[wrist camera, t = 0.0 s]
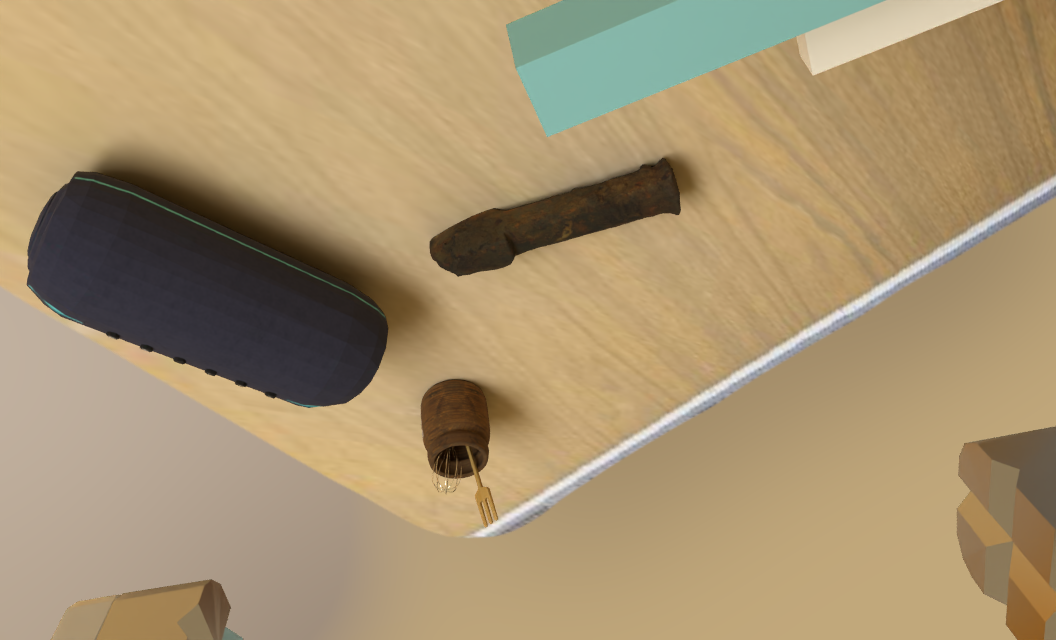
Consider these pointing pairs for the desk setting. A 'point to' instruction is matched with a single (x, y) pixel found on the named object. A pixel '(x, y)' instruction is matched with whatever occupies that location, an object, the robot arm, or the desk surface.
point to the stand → (878, 29)
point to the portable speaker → (202, 294)
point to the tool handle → (645, 47)
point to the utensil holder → (458, 435)
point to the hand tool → (555, 220)
